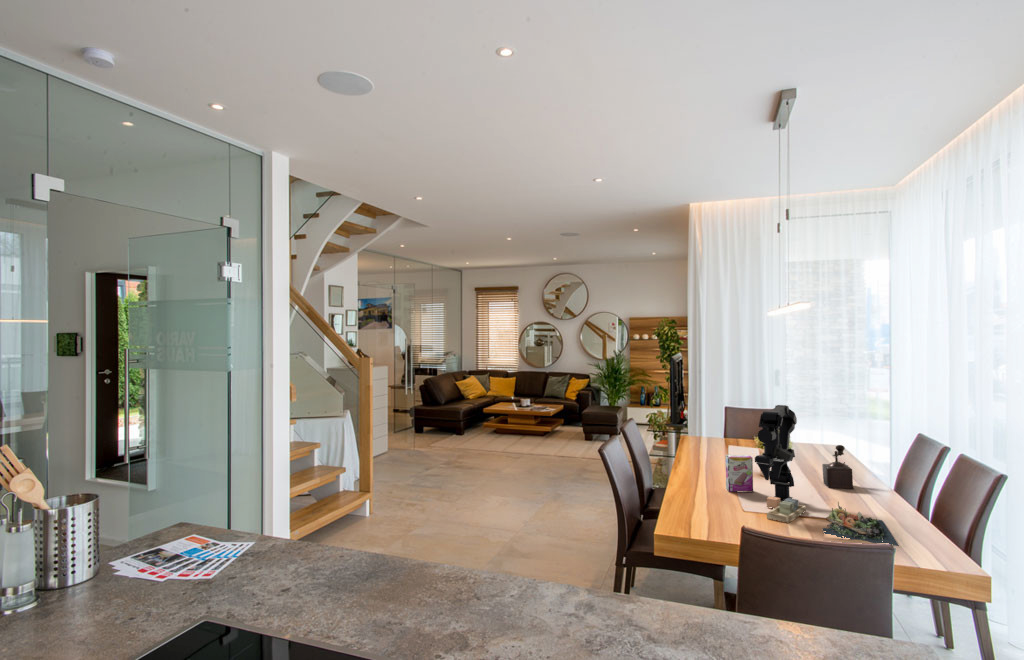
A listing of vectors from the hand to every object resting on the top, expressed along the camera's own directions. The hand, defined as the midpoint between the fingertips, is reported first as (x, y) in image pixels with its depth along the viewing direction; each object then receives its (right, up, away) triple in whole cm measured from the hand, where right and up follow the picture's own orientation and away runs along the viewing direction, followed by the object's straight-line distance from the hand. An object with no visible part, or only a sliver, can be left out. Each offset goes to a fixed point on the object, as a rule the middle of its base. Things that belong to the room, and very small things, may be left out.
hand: (772, 479), depth 227 cm
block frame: (+1, -12, -10) cm, 15 cm away
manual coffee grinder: (+47, -12, +33) cm, 58 cm away
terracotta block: (+1, -12, 0) cm, 12 cm away
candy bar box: (-3, -13, +26) cm, 29 cm away
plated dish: (+18, -12, -26) cm, 34 cm away
